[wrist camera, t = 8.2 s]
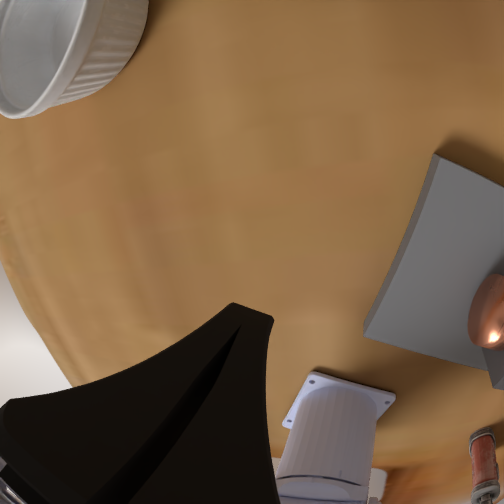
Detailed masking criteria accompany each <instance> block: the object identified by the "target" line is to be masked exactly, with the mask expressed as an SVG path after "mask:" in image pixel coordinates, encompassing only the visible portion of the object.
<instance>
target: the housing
mask: <svg viewBox="0 0 504 504" xmlns="http://www.w3.org/2000/svg"><path fill="white" fill-rule="evenodd" d="M492 274H500V275H502V276H504V187H503V186H502V185H500V184H498V183H496V182H494V181H492V180H490V179H488V178H486V177H484V176H482V175H480V174H478V173H476V172H474V171H472V170H470V169H468V168H466V167H464V166H462V165H459V164H457V163H455V162H453V161H451V160H448V159H446V158H444V157H441V156H439V155H437V154H434V153H433V157H432V160H431V163H430V166H429V169H428V172H427V175H426V178H425V181H424V184H423V187H422V190H421V193H420V196H419V198H418V201H417V204H416V207H415V209H414V212H413V215H412V217H411V220H410V222H409V225H408V227H407V230H406V232H405V235H404V237H403V240H402V242H401V245H400V247H399V249H398V252H397V254H396V256H395V259H394V261H393V263H392V265H391V268H390V270H389V272H388V274H387V276H386V279H385V281H384V283H383V285H382V287H381V289H380V291H379V293H378V295H377V297H376V299H375V302H374V304H373V306H372V308H371V310H370V311H369V313H368V315H367V317H366V319H365V321H364V330H363V337H366V338H370V339H373V340H376V341H380V342H383V343H386V344H390V345H393V346H396V347H400V348H403V349H407V350H410V351H414V352H417V353H421V354H425V355H428V356H432V357H436V358H439V359H443V360H447V361H450V362H454V363H458V364H462V365H466V366H470V367H474V368H478V369H482V370H486V371H489V375H490V379H491V382H492V386H493V388H495V389H500V390H504V350H502V351H495V350H491V349H488V348H484V347H481V346H478V345H475V344H473V343H472V342H471V340H470V338H469V335H468V315H469V310H470V307H471V303H472V301H473V298H474V296H475V293H476V292H477V290H478V288H479V286H480V285H481V284H482V282H483V281H484V280H485V279H486V278H487V277H489V276H490V275H492Z"/></svg>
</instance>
